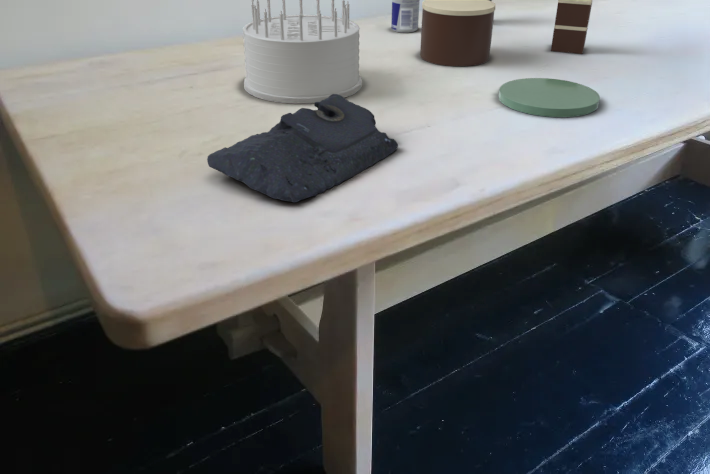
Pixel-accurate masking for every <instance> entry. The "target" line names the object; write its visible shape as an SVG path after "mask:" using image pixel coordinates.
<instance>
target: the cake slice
mask: <svg viewBox="0 0 710 474" xmlns="http://www.w3.org/2000/svg"><path fill="white" fill-rule="evenodd" d="M593 2H594V1H593V0H557V5H556V14H555V20H554V26H553V33H552V39H551V44H550V45H551V46H550V52H556V53H566V54H574V55H575V54H578V55H583V53H584V51H585V46H586V41H587V34H588V29H589V22H590V17H591V11H592V6H593Z"/></svg>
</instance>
